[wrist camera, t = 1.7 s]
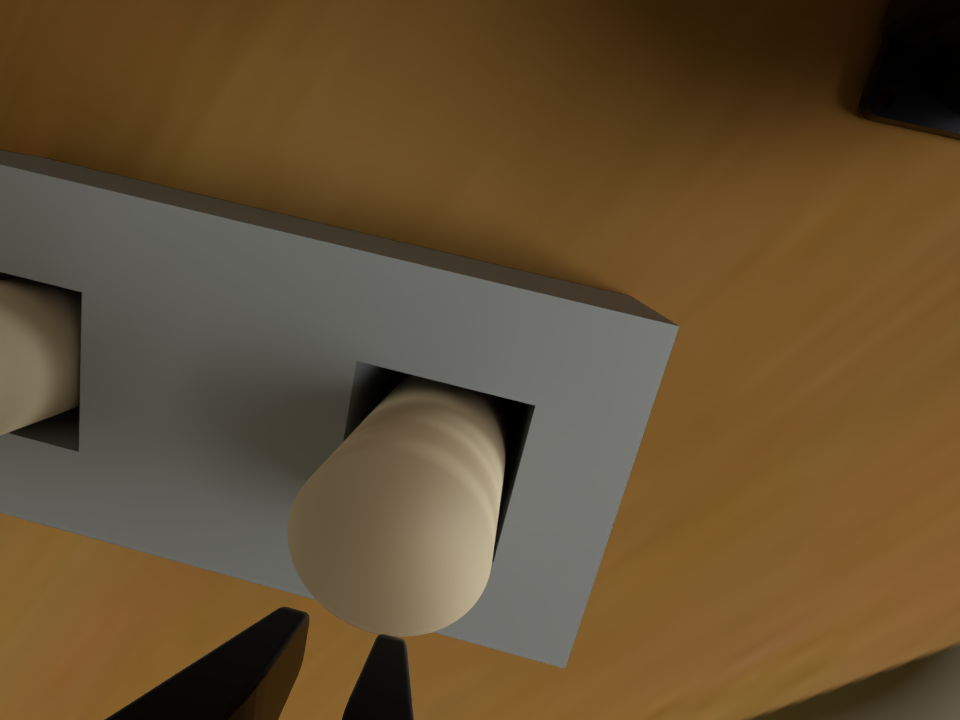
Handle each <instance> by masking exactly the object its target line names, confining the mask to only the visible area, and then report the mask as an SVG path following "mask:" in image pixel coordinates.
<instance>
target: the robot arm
mask: <svg viewBox="0 0 960 720" xmlns="http://www.w3.org/2000/svg"><path fill="white" fill-rule="evenodd" d="M881 32H882V37H883V41H882V43H881V46H880V49H879V51H878V54H877V56H876V59H875V62H874V64H873V67H872V70H871V72H870V75H869V77H868V80H867V83H866V85H865V88H864V90H863V93H862V96H861V98H860V103H859V108H860V112H861V113H862V115H863V116H864V117H865V118H867V119H870V120H874V121H878V122H883V123H888V124H892V125H897V126H902V127H906V128H911V129H916V130H920V131H925V132H930V133H934V134H939V135H944V136H949V137H953V138H958V139H960V0H891V1H890V4H889V6H888V9H887V11H886V14H885V17H884V19H883V22H882V25H881ZM879 93H882V94H884V95H885V96H886V99H887V101H886V105H885V106H884V108H882V107H880V106H878V104H877V96H878V95H879ZM308 627H309V615H308V614H307V613H306V612H303V611H299V610H296V609H292V608H289V607H281V608H279V609H277V610H275V611H274V612H272V613H271V614H269V615H268V616H266V617H264V618H263V619H261V620H260V621H258V622H257V623H255V624H254V625H252V626H250V627H249V628H247V629H246V630H244V631H243V632H241V633H239V634H238V635H236V636H235V637H233V638H232V639H230V640H229V641H227V642H225V643H224V644H222V645H221V646H219V647H218V648H216V649H214V650H213V651H211V652H210V653H208V654H207V655H205V656H204V657H202V658H200V659H199V660H197V661H196V662H194V663H193V664H191V665H190V666H188V667H186V668H185V669H183V670H182V671H180V672H179V673H177V674H175V675H174V676H172V677H171V678H169V679H168V680H166V681H165V682H163V683H161V684H160V685H158V686H157V687H155V688H154V689H152V690H150V691H149V692H147V693H146V694H144V695H143V696H141V697H140V698H138V699H136V700H135V701H133V702H132V703H130V704H129V705H127V706H125V707H124V708H122V709H121V710H119V711H118V712H116V713H115V714H113V715H111V716H110V717H108V718H107V719H105V720H278V718H279V716H280V714H281V712H282V710H283V707H284V705H285V703H286V701H287V698H288V696H289V694H290V692H291V690H292V687H293V685H294V683H295V681H296V678H297V676H298V674H299V671H300V668H301V665H302V662H303V657H304V652H305V645H306V639H307V633H308ZM342 720H414V719H413V708H412V698H411V687H410V677H409V667H408V656H407V646H406V642H405V641H404V640H403V639H400V638H397V637H393V636H390V635H386V634H380V635H379V636H378V637H377V638H376V640H375V642H374V644H373V647H372V649H371V651H370V653H369V656H368V658H367V660H366V662H365V665H364V667H363V669H362V671H361V674H360V676H359V678H358V680H357V683H356V685H355V687H354V689H353V692H352V694H351V696H350V698H349V701H348V703H347V706H346V709H345V711H344V714H343V718H342Z"/></svg>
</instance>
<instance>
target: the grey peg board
mask: <svg viewBox="0 0 960 720" xmlns="http://www.w3.org/2000/svg"><path fill="white" fill-rule="evenodd" d="M15 278H26V279H30V280H34V281H38V282H42V283H46V284H50V285H54V286H59V287H63V288H67V289H71V290H75V291H79V292H82V311H81V365H80V406H79V407H76V408H73V409H71V410H68V411H65V412H63V413H60V414H57V415H54V416H52V417H49V418H46V419H44V420H41V421H38V422H35V423H33V424H30V425H27V426H25V427H22V428H19V429H17V430H14V431H11V432H8V433H6V434H3V435H0V513H3V514H7V515H10V516H14V517H17V518H21V519H25V520H28V521H32V522H36V523H39V524H43V525H46V526H50V527H54V528H57V529H61V530H65V531H68V532H72V533H75V534H79V535H83V536H86V537H90V538H94V539H97V540H101V541H104V542H108V543H112V544H115V545H119V546H123V547H126V548H130V549H133V550H137V551H141V552H144V553H148V554H152V555H155V556H159V557H162V558H166V559H170V560H173V561H177V562H181V563H184V564H188V565H191V566H195V567H199V568H202V569H206V570H210V571H213V572H217V573H220V574H224V575H228V576H231V577H235V578H239V579H242V580H246V581H249V582H253V583H257V584H260V585H264V586H268V587H271V588H275V589H278V590H282V591H286V592H289V593H293V594H297V595H300V596H304V597H307V598H311V599H315V598H314V597H313V596H312V595H311V593H310V592H309V591H308V590H307V588H306V587H305V585H304V584H303V582H302V581H301V579H300V577H299V575H298V573H297V571H296V569H295V567H294V564H293V561H292V559H291V555H290V550H289V546H288V534H287V533H288V520H289V516H290V511H291V508H292V505H293V503H294V500H295V498H296V496H297V494H298V493H299V491H300V489H301V488H302V486H303V485H304V484H305V483H306V481H307V480H308V479H309V478H310V477H311V476H312V475H313V474H314V473H315V472H316V470H317V469H318V468H319V467H320V466H321V465H322V464H323V463H324V462H325V461H326V460H327V459H328V458H329V457H330V456H331V455H332V453H333V452H334V451H335V450H336V449H337V448H338V447H339V446H340V445H341V444H342V443H343V442H344V441H345V440H346V439H347V438H348V436H349V435H350V434H351V433H352V432H353V431H354V430H355V429H356V428H357V427H358V426H359V425H360V424H361V423H362V422H363V421H364V420H365V418H366V417H367V416H368V415H369V414H370V413H371V412H372V411H373V410H374V409H375V408H376V407H377V406H378V405H379V404H380V403H381V401H382V400H383V399H384V398H385V397H386V396H387V395H388V394H389V393H390V392H391V391H392V390H393V389H394V388H395V387H396V386H397V385H398V384H399V383H400V382H401V381H402V377H403V373H407V374H411V375H415V376H419V377H423V378H427V379H431V380H435V381H439V382H443V383H447V384H451V385H455V386H459V387H463V388H467V389H471V390H475V391H479V392H483V393H487V394H491V395H495V396H499V397H503V398H507V399H511V400H515V401H519V402H523V403H522V407H521V410H520V414H519V418H518V422H517V426H516V430H515V433H514V437H513V441H512V445H511V449H510V453H509V456H508V460H507V464H506V465H505V471H504V478H503V486H502V493H501V500H500V508H499V515H498V522H497V530H496V537H495V544H494V552H493V559H492V566H491V571H490V576H489V579H488V582H487V584H486V587H485V589H484V591H483V593H482V594H481V596H480V598H479V599H478V601H477V602H476V603H475V605H474V606H473V607H472V608H471V609H470V610H469V611H468V612H467V613H466V614H465V615H464V616H462V617H461V618H460V619H458V620H457V621H456V622H454V623H452V624H450V625H448V626H447V627H445V628H442V629H440V630H437V631H434V633H438V634H442V635H445V636H449V637H453V638H456V639H460V640H463V641H467V642H471V643H474V644H478V645H482V646H485V647H489V648H492V649H496V650H500V651H503V652H507V653H511V654H514V655H518V656H521V657H525V658H529V659H532V660H536V661H540V662H543V663H547V664H550V665H554V666H558V667H561V668H565V667H566V664H567V661H568V658H569V655H570V652H571V649H572V646H573V643H574V640H575V637H576V634H577V631H578V628H579V625H580V622H581V619H582V616H583V613H584V610H585V607H586V604H587V601H588V598H589V595H590V592H591V589H592V586H593V583H594V580H595V577H596V574H597V571H598V568H599V566H600V563H601V560H602V557H603V554H604V551H605V548H606V545H607V542H608V539H609V536H610V533H611V530H612V527H613V524H614V521H615V518H616V515H617V512H618V509H619V506H620V503H621V500H622V497H623V494H624V491H625V488H626V485H627V482H628V479H629V476H630V473H631V470H632V467H633V464H634V461H635V458H636V455H637V452H638V449H639V446H640V443H641V440H642V437H643V434H644V431H645V428H646V425H647V422H648V419H649V416H650V413H651V410H652V407H653V404H654V401H655V398H656V395H657V392H658V389H659V386H660V383H661V380H662V377H663V374H664V371H665V368H666V365H667V362H668V359H669V356H670V353H671V350H672V347H673V344H674V341H675V338H676V335H677V332H678V329H679V326H678V325H676V324H675V323H673V322H672V321H670V320H668V319H667V318H665V317H664V316H662V315H660V314H659V313H657V312H656V311H654V310H652V309H651V308H649V307H648V306H646V305H644V304H643V303H641V302H639V301H638V300H636V299H635V298H633V297H631V296H627V295H623V294H619V293H614V292H610V291H606V290H602V289H597V288H593V287H589V286H585V285H581V284H576V283H572V282H568V281H564V280H559V279H555V278H551V277H547V276H542V275H538V274H534V273H530V272H526V271H521V270H517V269H513V268H509V267H504V266H500V265H496V264H492V263H487V262H483V261H479V260H475V259H471V258H466V257H462V256H458V255H454V254H449V253H445V252H441V251H437V250H432V249H428V248H424V247H420V246H416V245H411V244H407V243H403V242H399V241H394V240H390V239H386V238H382V237H377V236H373V235H369V234H365V233H361V232H356V231H352V230H348V229H344V228H339V227H335V226H331V225H327V224H322V223H318V222H314V221H310V220H306V219H301V218H297V217H293V216H289V215H284V214H280V213H276V212H272V211H267V210H263V209H259V208H255V207H251V206H246V205H242V204H238V203H234V202H229V201H225V200H221V199H217V198H212V197H208V196H204V195H200V194H196V193H191V192H187V191H183V190H179V189H174V188H170V187H166V186H162V185H157V184H153V183H149V182H145V181H141V180H136V179H132V178H128V177H124V176H119V175H115V174H111V173H107V172H102V171H98V170H94V169H90V168H86V167H81V166H77V165H73V164H69V163H64V162H60V161H56V160H52V159H47V158H43V157H38V156H32V155H26V154H20V153H13V152H7V151H1V150H0V280H2V279H15ZM315 600H316V599H315Z"/></svg>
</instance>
